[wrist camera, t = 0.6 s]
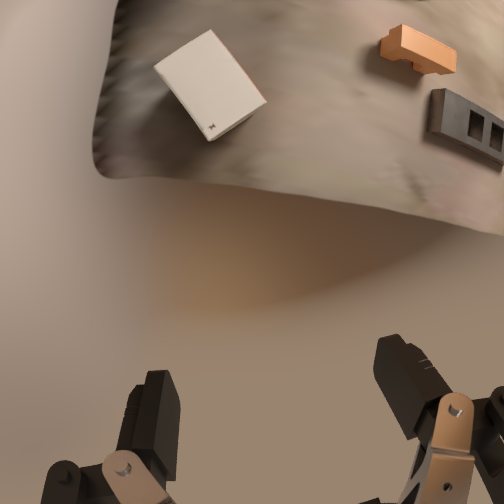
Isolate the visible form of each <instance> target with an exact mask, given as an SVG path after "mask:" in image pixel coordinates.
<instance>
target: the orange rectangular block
mask: <svg viewBox="0 0 504 504" xmlns="http://www.w3.org/2000/svg"><path fill="white" fill-rule="evenodd" d="M380 56H381V57H383V58H386V59H389V60H391V61H396V60H399V59H402V58H405V59H407V60H410V61H412V62H413V70H416V71H418V72H420V73H422V74H430V73H435V72H436V73H438V74H440V75H443V74H450V73H455V72H456V51H455V50H453V49H451V48H449V47H448V46H446V45H444V44H442V43H440V42H438V41H436V40H435V39H433V38H431V37H429V36H427V35H425V34H423V33H421V32H419V31H417V30H414V29H412V28H410V27H408V26H406V25H404V24H401V25H399V26H397V27H395V28H393V29H391V30H389V35H388V36H386V37H384V38H382V39H381V49H380Z"/></svg>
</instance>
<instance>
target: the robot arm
mask: <svg viewBox="0 0 504 504" xmlns="http://www.w3.org/2000/svg"><path fill="white" fill-rule="evenodd" d="M373 371H374V377H375V380H376V381H377V383H378V385H379V387H380V389H381V391H382V392H383V394H384V396H385V398H386V400H387V402H388V404H389V406H390V407H391V409H392V411H393V413H394V415H395V417H396V419H397V421H398V423H399V424H400V426H401V428H402V430H403V432H404V434H405V436H406V438H407V440H410V439H413V438H415V437H418V439H419V440H420V442H419V445H418V447H417V451H416V455H415V459H414V462H413V465H412V468H411V471H410V475H409V478H408V481H407V483H406V486H405V488H404V490H403V492H402V494H401V496H400V498H399V500H398V502H397V503H380V500H379V498H376V499H372V500H369V501H366V502H363V503H360V504H467V499H468V494H469V490H470V485H471V479H472V474H473V468H474V464H475V466H476V468H477V470H478V472H479V474H480V476H481V478H482V480H483V482H484V484H485V486H486V488H487V491H488V493H489V495H490V497H491V499H492V502H493V504H504V443H503V441H502V440H501V438H500V435H501V436H502V438H503V440H504V386H500V387H497V388H496V389H495V390H494V391H493V392H492V394H491V396H490V397H489V398H483V399H476V400H471V399H470V398H469V397H468V396H466V395H464V394H462V393H457V392H455V393H453V391H452V390H451V389H450V387H449V386H448V385H447V383H446V382H445V381H444V379H443V378H442V377H441V375H440V374H439V373H438V372H437V370H436V369H435V367H433V365H432V363H431V362H430V361H429V360H428V358H427V357H426V355H425V354H424V353H423V352H422V350H421V349H419V348H418V347H416V346H415V345H413V344H412V343H409V344H406V343H405V342H404V340H403V339H402V338H401V336H400V335H398V334H394V335H390V336H386V337H382V338H380V339H379V340H378V343H377V350H376V355H375V360H374V366H373ZM124 415H125V417H124V418H123V422H122V426H121V430H120V435H119V439H118V444H117V448H116V451H115V452H113V453H111V454H110V455H108V456H107V457H106V459H105V460H104V462H103V463H101V464H98V465H92V466H87V467H81V468H79V467H78V466H77V465H76V464H75V463H73V462H71V461H67V460H64V461H59V462H56V463H55V464H53V466H51V467H50V469H49V471H48V473H47V477H46V481H45V485H44V490H43V494H42V499H41V504H176V503H175V502H174V500H173V499H172V498H171V497H170V496H169V494H168V493H167V492H166V481H175V480H176V463H177V449H178V435H179V422H180V400H179V396H178V394H177V391H176V388H175V386H174V383H173V381H172V378H171V375H170V373H169V371H168V370H156V371H148V372H147V376H146V380H145V384H144V385H136V386H135V388H134V389H133V390H132V392H131V393H130V394H129V398H128V401H127V408H126V410H125V414H124Z"/></svg>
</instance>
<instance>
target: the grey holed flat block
mask: <svg viewBox="0 0 504 504" xmlns="http://www.w3.org/2000/svg"><path fill="white" fill-rule="evenodd" d="M470 116H471V122H470V130H469V136H467V134H468V126H469V117H470ZM427 131H428V132H431V133H433V134H436V135H438V136H441V137H443V138H446V139H448V140H451V141H453V142H455V143H458V144H460V145H462V146H464V147H467V148H469V149H471V150H473V151H475V152H478V153H480V154H482V155H484V156H486V157H488V158H490V159H492V160H494V161H496V162H498V163H500V164H502V165H504V121H502V120H501V119H499V118H498V117H496V116H494V115H493V114H491V113H490V112H488V111H486V110H485V109H483V108H481V107H479V106H478V105H476V104H474V103H473V102H471V101H469V100H467V99H465V98H463V97H462V96H460V95H458V94H456V93H454V92H452V91H450V90H448V89H446V88H443V89H433V90H432V96H431V105H430V114H429V121H428V129H427Z"/></svg>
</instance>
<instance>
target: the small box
mask: <svg viewBox="0 0 504 504" xmlns="http://www.w3.org/2000/svg"><path fill="white" fill-rule="evenodd" d="M153 68H154V70H155V71H156V72H157V73H158V74H159V75H160V77H161V78H162V79H163V80H164V81H165V83H166V84H167V85H168V86H169V88H170V89H171V90H172V92H173V93H174V94H175V96H176V97H177V98H178V100H179V101H180V102H181V104H182V105H183V106H184V108H185V109H186V110H187V112H188V113H189V114H190V116H191V117H192V118H193V120H194V121H195V123H196V124H197V125H198V127H199V128H200V130H201V131H202V133H203V134H204V136H205V137H206V139H207V140H208V141H213V140H216V139H217V138H219V137H220V136H222V135H223V134H225V133H226V132H228V131H229V130H231V129H232V128H234V127H235V126H237V125H238V124H240V123H241V122H243V121H244V120H246V119H247V118H248V117H250V116H251V115H253V114H254V113H256V112H257V111H258V110H259V109H260V108H261V107H263V106H264V105H265V104H266V103H267V101H266V99H265V98H264V97H263V95H262V94H261V92H260V91H259V90H258V88H257V87H256V86H255V84H254V83H253V82H252V80H251V79H250V78H249V76H248V75H247V74H246V72H245V71H244V70H243V68H242V67H241V66H240V64H239V63H238V62H237V60H236V59H235V58H234V57H233V55H232V54H231V53H230V52H229V50H228V49H227V48H226V47H225V45H224V44H223V43H222V41H221V40H220V39H219V38H218V37H217V35H216V34H215V33H214V32H213V30H209V31H207V32H205V33H204V34H202V35H200V36H198V37H197V38H195V39H194V40H192V41H190V42H189V43H187V44H186V45H184V46H182V47H181V48H179V49H178V50H176V51H175V52H173V53H172V54H170V55H169V56H167V57H166V58H165V59H163V60H162V61H160V62H159V63H157V64H156V65H155V66H154V67H153Z"/></svg>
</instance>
